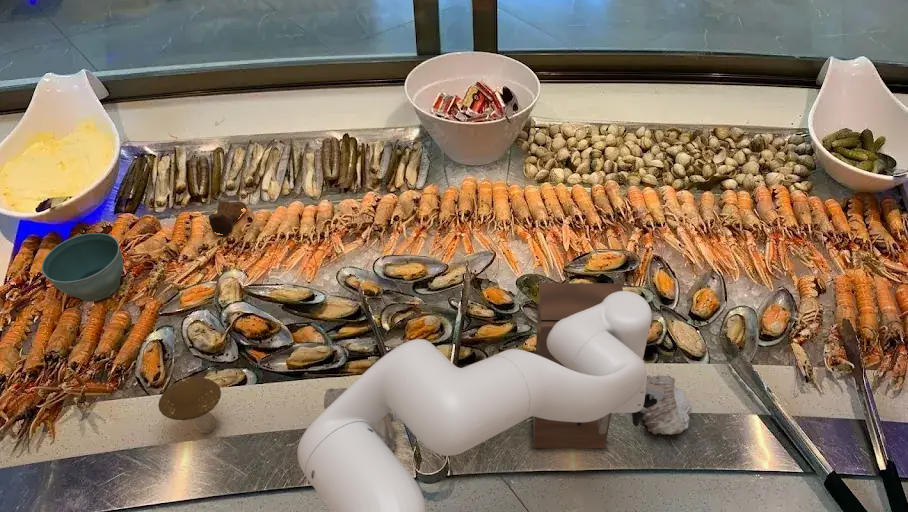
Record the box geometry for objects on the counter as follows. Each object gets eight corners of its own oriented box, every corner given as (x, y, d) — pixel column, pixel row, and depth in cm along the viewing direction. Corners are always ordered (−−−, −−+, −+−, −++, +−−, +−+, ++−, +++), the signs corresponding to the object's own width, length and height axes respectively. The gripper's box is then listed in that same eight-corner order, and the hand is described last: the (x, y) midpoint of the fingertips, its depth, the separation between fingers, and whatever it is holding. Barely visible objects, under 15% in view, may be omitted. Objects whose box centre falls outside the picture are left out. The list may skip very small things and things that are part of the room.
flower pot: (150, 274, 165) (134, 242, 158) (98, 321, 154) (78, 289, 146) (100, 257, 169) (82, 225, 162) (46, 302, 158) (24, 270, 151)
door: (607, 475, 127) (633, 355, 101) (534, 475, 127) (542, 355, 101) (604, 443, 132) (628, 321, 106) (533, 443, 132) (540, 321, 106)
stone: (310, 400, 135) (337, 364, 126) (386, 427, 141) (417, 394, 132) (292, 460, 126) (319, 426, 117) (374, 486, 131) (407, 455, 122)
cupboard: (603, 442, 132) (628, 319, 107) (533, 442, 132) (540, 319, 106) (599, 407, 138) (621, 283, 112) (532, 407, 138) (539, 282, 112)
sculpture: (197, 209, 166) (221, 174, 178) (196, 238, 173) (220, 202, 184) (229, 218, 167) (252, 182, 179) (228, 246, 174) (249, 210, 185)
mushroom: (184, 409, 137) (159, 365, 127) (241, 406, 137) (220, 363, 127) (170, 450, 130) (142, 407, 120) (229, 447, 131) (206, 405, 121)
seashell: (699, 440, 129) (678, 407, 125) (654, 453, 133) (633, 421, 128) (689, 386, 142) (670, 354, 138) (649, 399, 145) (629, 368, 141)
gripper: (562, 379, 99) (557, 438, 111) (678, 379, 99) (660, 438, 111) (559, 338, 105) (554, 399, 116) (669, 338, 105) (653, 399, 116)
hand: (606, 418), depth 113 cm, fingers open, 9 cm apart
